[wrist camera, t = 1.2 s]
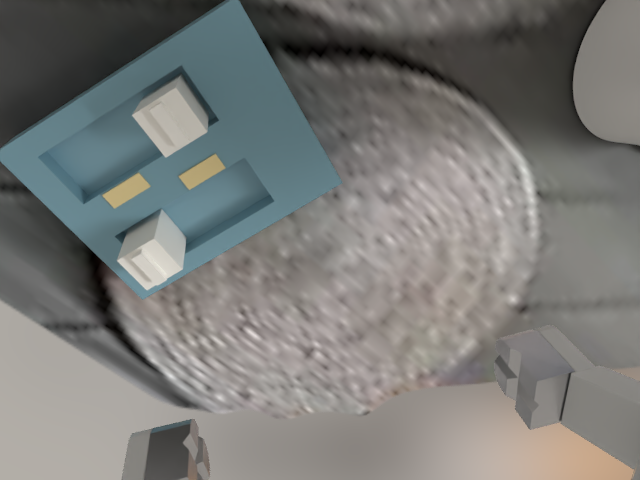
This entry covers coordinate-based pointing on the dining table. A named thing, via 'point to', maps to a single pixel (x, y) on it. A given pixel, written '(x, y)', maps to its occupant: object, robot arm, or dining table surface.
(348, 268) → the dining table surface
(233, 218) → the switch bank
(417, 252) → the dining table surface
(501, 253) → the dining table surface
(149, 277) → the tab far
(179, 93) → the tab near
